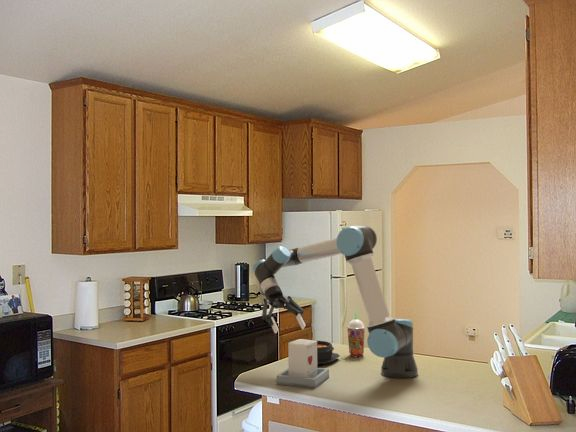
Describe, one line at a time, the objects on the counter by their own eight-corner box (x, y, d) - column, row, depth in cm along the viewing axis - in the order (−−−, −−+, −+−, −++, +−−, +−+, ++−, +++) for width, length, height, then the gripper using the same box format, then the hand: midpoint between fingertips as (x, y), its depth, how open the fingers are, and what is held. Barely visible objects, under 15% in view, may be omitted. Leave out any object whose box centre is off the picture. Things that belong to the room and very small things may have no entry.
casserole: (310, 371, 256) (309, 351, 256) (281, 363, 270) (281, 345, 270) (349, 360, 273) (348, 342, 273) (320, 354, 287) (320, 336, 287)
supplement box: (307, 382, 235) (306, 344, 235) (288, 379, 240) (287, 342, 240) (318, 377, 243) (317, 340, 243) (299, 374, 248) (299, 338, 248)
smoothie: (347, 357, 279) (346, 314, 279) (348, 353, 287) (347, 311, 287) (365, 357, 278) (364, 315, 277) (365, 353, 286) (365, 312, 286)
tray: (329, 377, 246) (329, 369, 246) (315, 388, 231) (315, 379, 231) (292, 373, 252) (292, 365, 252) (276, 384, 237) (276, 375, 237)
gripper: (292, 293, 272) (311, 331, 260) (244, 298, 259) (261, 338, 246) (298, 282, 268) (318, 320, 255) (249, 287, 254) (268, 327, 242)
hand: (290, 329), depth 251 cm, fingers open, 13 cm apart
